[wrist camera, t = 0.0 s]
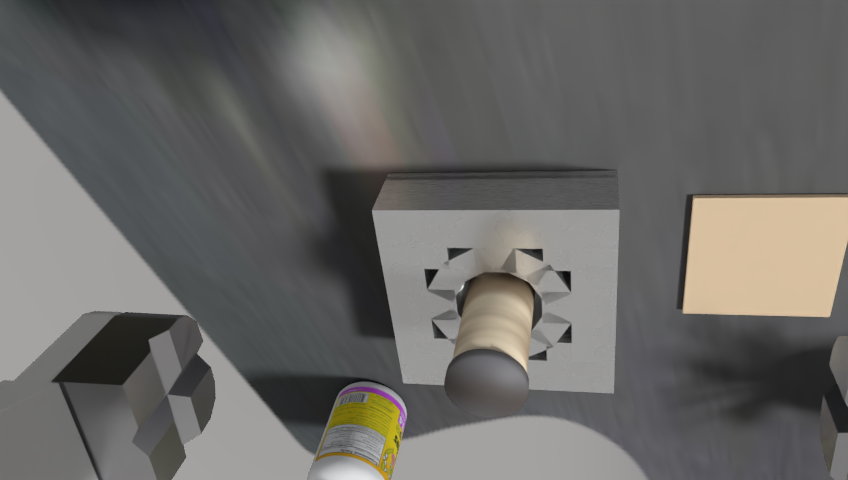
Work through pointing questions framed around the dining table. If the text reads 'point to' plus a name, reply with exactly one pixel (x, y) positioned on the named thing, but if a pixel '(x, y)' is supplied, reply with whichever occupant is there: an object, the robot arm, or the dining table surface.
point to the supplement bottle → (361, 435)
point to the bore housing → (504, 266)
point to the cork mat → (765, 254)
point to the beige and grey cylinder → (492, 347)
